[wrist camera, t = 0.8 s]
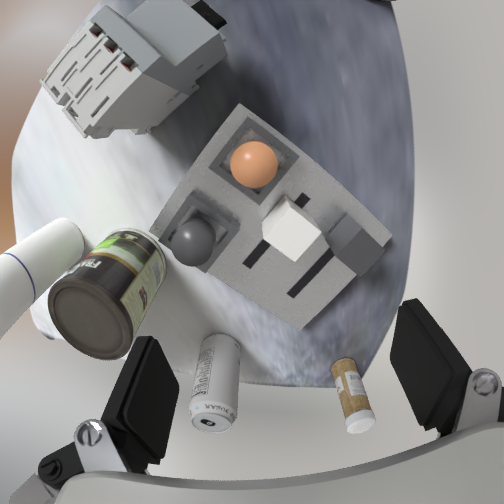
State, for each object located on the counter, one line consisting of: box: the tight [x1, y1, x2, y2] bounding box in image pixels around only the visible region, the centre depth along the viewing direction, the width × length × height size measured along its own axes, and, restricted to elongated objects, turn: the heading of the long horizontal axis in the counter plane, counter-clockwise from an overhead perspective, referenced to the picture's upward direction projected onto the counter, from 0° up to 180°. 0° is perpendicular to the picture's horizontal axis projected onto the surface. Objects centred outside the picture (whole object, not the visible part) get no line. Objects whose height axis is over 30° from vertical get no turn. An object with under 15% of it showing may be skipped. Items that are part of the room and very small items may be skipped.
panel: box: [149, 103, 392, 330], centre depth 33 cm, size 18×24×4 cm
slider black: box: [325, 214, 386, 278], centre depth 30 cm, size 4×4×5 cm
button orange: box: [230, 141, 278, 188], centre depth 26 cm, size 4×4×3 cm
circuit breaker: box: [39, 0, 227, 139], centre depth 20 cm, size 8×14×15 cm, turn 129°
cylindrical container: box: [0, 218, 84, 339], centre depth 24 cm, size 7×7×25 cm
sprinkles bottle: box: [331, 358, 376, 434], centre depth 39 cm, size 5×5×13 cm
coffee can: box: [48, 228, 166, 360], centre depth 31 cm, size 10×10×14 cm
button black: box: [171, 218, 216, 267], centre depth 29 cm, size 4×4×3 cm
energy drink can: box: [189, 333, 240, 434], centre depth 36 cm, size 6×6×15 cm
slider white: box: [262, 195, 322, 262], centre depth 29 cm, size 4×4×5 cm
